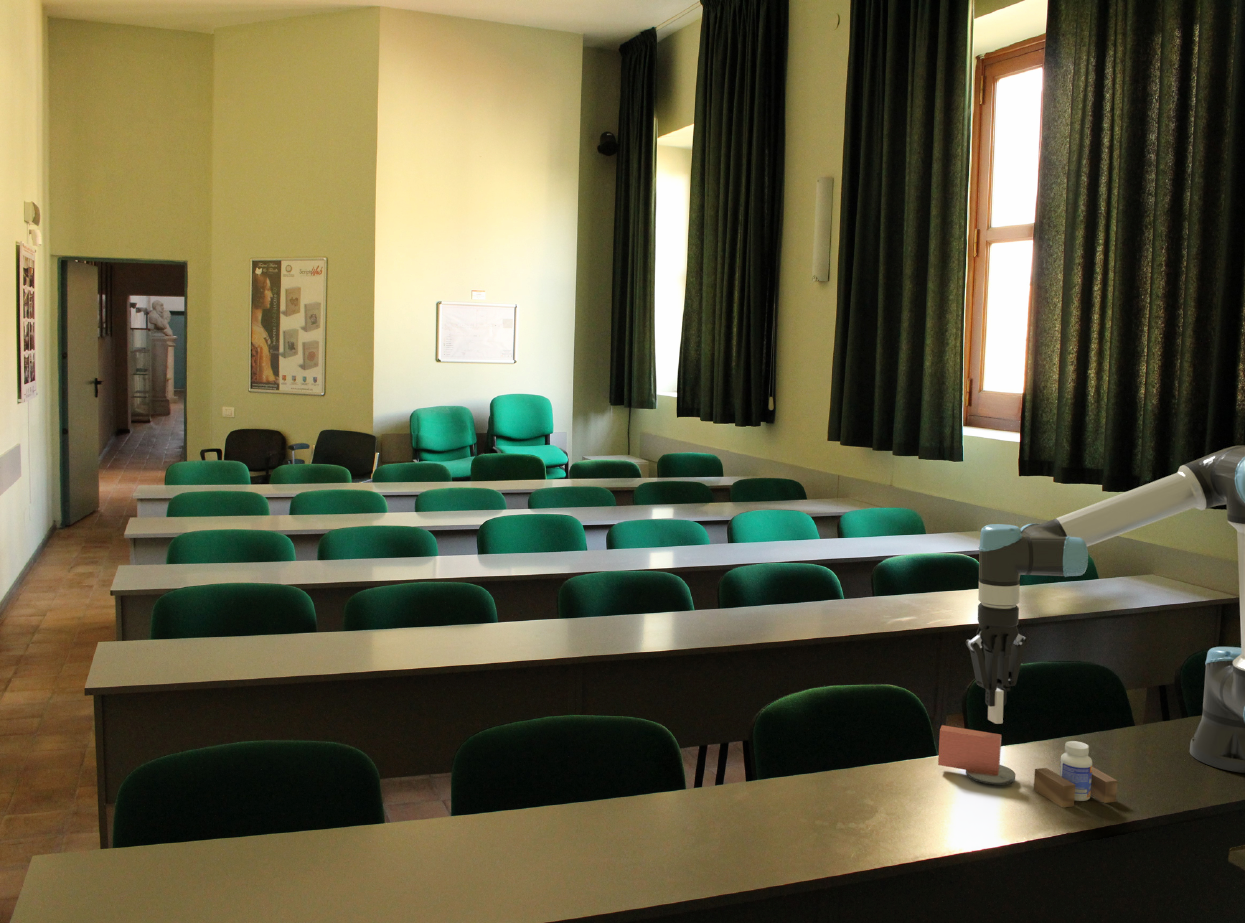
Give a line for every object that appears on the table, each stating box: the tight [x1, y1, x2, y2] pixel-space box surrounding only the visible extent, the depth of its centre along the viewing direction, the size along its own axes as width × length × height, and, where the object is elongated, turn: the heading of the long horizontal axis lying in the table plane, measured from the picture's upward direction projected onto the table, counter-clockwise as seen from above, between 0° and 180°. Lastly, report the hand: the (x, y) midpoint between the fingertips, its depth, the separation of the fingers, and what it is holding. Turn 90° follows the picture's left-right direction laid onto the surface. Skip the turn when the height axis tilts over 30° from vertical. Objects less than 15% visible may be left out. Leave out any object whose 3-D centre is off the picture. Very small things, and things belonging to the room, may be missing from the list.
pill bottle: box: [1059, 740, 1093, 802], centre depth 190 cm, size 5×5×10 cm
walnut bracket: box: [1033, 766, 1118, 808], centre depth 190 cm, size 12×8×4 cm
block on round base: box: [937, 724, 1016, 786], centre depth 198 cm, size 9×14×8 cm, turn 65°
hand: (995, 721), depth 203 cm, fingers closed
